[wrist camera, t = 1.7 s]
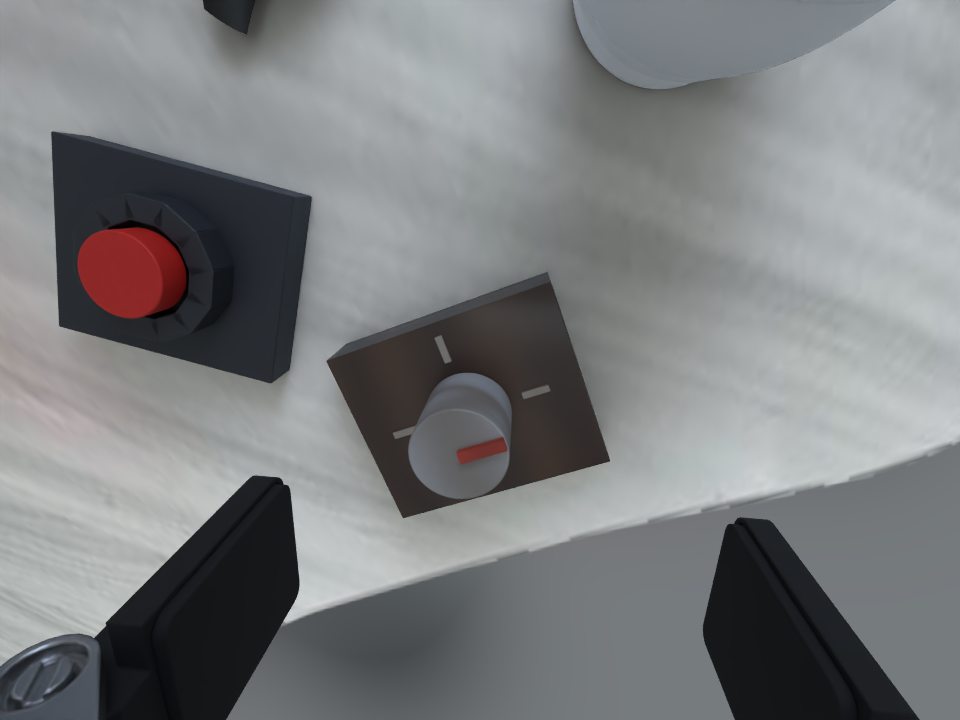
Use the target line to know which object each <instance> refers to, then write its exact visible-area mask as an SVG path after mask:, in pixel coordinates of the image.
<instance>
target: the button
mask: <svg viewBox="0 0 960 720" xmlns="http://www.w3.org/2000/svg"><path fill="white" fill-rule="evenodd" d="M78 272H79V276H80V279H81V282H82V284H83V287H84V288H85V290H86V292H87V293H88V295H89V296H90V297H91V298H92V299H93V301H94V302H95V303H96V304H98V305H99V306H100V307H101V308H102V309H104V310H105V311H107V312H109V313H111V314H113V315H116V316H119V317H123V318H130V319H134V318H141V317H144V316H147V315H151V314H154V313H157V312H160V311H163V310H166V309H169V308H171V307H172V306H174V305H175V304H176V303H177V302H178V301H179V300H180V299H181V297H182V296H183V294H184V291H185V288H186V282H187V275H186V269H185V265H184V262H183V260H182V258H181V256H180V254H179V253H178V251H177V250H176V248H175V247H174V246H173V245H172V244H171V243H170V242H169V241H168V240H167V239H166V238H165V237H163V236H162V235H160V234H158V233H156V232H154V231H152V230H149V229H145V228H138V227H135V228H123V229H111V230H103V231H99V232H97V233H94V234H93V235H91V236H90V237H89V238H88V239H86V240H85V242H84V243H83V244H82V246H81V248H80V251H79V254H78Z"/></svg>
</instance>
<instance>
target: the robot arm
mask: <svg viewBox="0 0 960 720" xmlns="http://www.w3.org/2000/svg"><path fill="white" fill-rule="evenodd" d="M298 591H299V572H298V562H297V552H296V542H295V532H294V523H293V513H292V503H291V493H290V488H289V486H288V485H283V481H282V479H280V478H278V477H266V476H252V477H251V478H249V479H248V480H247V481H246V482H245V483H244V484H243V485H242V486H241V487H240V488H239V489H238V490H237V491H236V492H235V493H234V494H233V495H232V496H231V497H230V498H229V499H228V500H227V501H226V502H225V503H224V504H223V505H222V506H221V507H220V508H219V509H218V510H217V511H216V512H215V514H214V515H213V516H212V517H211V518H210V519H209V520H208V521H207V522H206V523H205V524H204V525H203V526H202V527H201V528H200V529H199V530H198V531H197V532H196V533H195V534H194V535H193V536H192V537H191V538H190V539H189V540H188V541H187V542H186V543H185V544H184V545H183V546H182V547H181V548H180V549H179V550H178V551H177V552H176V553H175V554H174V555H173V556H172V557H171V558H170V559H169V560H168V561H167V562H166V563H165V564H164V565H163V566H162V567H161V568H160V569H159V570H158V571H157V572H156V573H155V574H154V575H153V576H152V577H151V578H150V579H149V580H148V581H147V582H146V583H145V584H144V585H143V586H142V587H141V588H140V589H139V590H138V591H137V592H136V593H135V594H134V595H133V596H132V597H131V598H130V599H129V600H128V601H127V602H126V603H125V604H124V605H123V606H122V607H121V608H120V609H119V610H118V611H117V612H116V613H115V614H114V615H113V616H112V617H111V618H110V619H109V620H108V621H107V622H106V627H105V628H104V629H103V630H102V631H101V632H100V633H99V634H98V635H97V636H96V637H95V638H93V637H91V636H88V635H83V634H68V635H61V636H58V637H54V638H50V639H47V640H44V641H42V642H40V643H38V644H35V645H33V646H31V647H28V648H27V649H25V650H23V651H22V652H20V653H19V654H17V655H15V656H14V657H12V658H10V659H9V660H8V661H7V662H5V663H4V664H3V665H2V666H0V720H226V719H227V717H228V715H229V714H230V712H231V710H232V709H233V707H234V705H235V703H236V702H237V700H238V698H239V697H240V695H241V693H242V691H243V690H244V688H245V686H246V684H247V683H248V681H249V679H250V678H251V676H252V674H253V672H254V670H255V669H256V667H257V665H258V664H259V662H260V660H261V659H262V657H263V655H264V653H265V652H266V650H267V648H268V647H269V645H270V643H271V641H272V640H273V638H274V636H275V634H276V633H277V631H278V629H279V628H280V626H281V624H282V623H283V621H284V619H285V617H286V616H287V614H288V612H289V610H290V609H291V607H292V605H293V604H294V602H295V600H296V598H297V595H298ZM703 636H704V641H705V645H706V647H707V650H708V652H709V655H710V658H711V660H712V662H713V665H714V668H715V670H716V673H717V675H718V678H719V680H720V683H721V685H722V688H723V690H724V693H725V696H726V698H727V701H728V703H729V706H730V708H731V711H732V713H733V716H734V718H735V720H919V718H918V717H917V716H916V714H915V713H914V712H913V710H912V709H911V708H910V706H909V705H908V704H907V702H906V701H905V699H904V698H903V697H902V696H901V694H900V693H899V691H898V690H897V689H896V687H895V686H894V685H893V683H892V682H891V681H890V679H889V678H888V677H887V675H886V674H885V673H884V671H883V670H882V669H881V667H880V666H879V665H878V663H877V662H876V661H875V659H874V658H873V657H872V655H871V654H870V653H869V651H868V650H867V649H866V647H865V646H864V644H863V643H862V642H861V641H860V639H859V638H858V636H857V635H856V634H855V632H854V631H853V630H852V629H851V627H850V626H849V624H848V623H847V622H846V620H845V619H844V618H843V616H842V615H841V614H840V612H839V611H838V610H837V608H836V607H835V606H834V605H833V603H832V602H831V600H830V599H829V598H828V596H827V595H826V594H825V592H824V591H823V590H822V588H821V587H820V586H819V584H818V583H817V582H816V580H815V579H814V577H813V576H812V575H811V573H810V572H809V571H808V569H807V568H806V567H805V565H804V564H803V563H802V561H801V560H800V559H799V557H798V556H797V555H796V553H795V552H794V551H793V549H792V548H791V547H790V545H789V544H788V543H787V541H786V540H785V539H784V537H783V536H782V535H781V533H780V532H779V531H778V529H777V528H776V527H775V525H774V524H773V523H772V522H771V521H769V520H764V519H753V518H741V517H740V518H738V519H737V520H736V521H735V523H734V524H728V525H727V527H726V530H725V533H724V538H723V542H722V546H721V551H720V555H719V559H718V564H717V568H716V572H715V577H714V580H713V585H712V589H711V593H710V598H709V602H708V606H707V611H706V615H705V620H704V624H703Z"/></svg>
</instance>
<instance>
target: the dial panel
mask: <svg viewBox="0 0 960 720" xmlns="http://www.w3.org/2000/svg"><path fill="white" fill-rule="evenodd" d="M327 363H328V365H329V367H330V370H331V372H332V374H333V376H334V378H335V380H336V382H337V384H338V386H339V388H340V390H341V392H342V394H343V396H344V398H345V400H346V402H347V404H348V406H349V408H350V410H351V413H352V415H353V417H354V419H355V421H356V423H357V425H358V427H359V429H360V431H361V433H362V435H363V437H364V439H365V441H366V443H367V445H368V447H369V449H370V451H371V453H372V456H373V458H374V460H375V462H376V464H377V466H378V468H379V470H380V472H381V474H382V476H383V478H384V480H385V482H386V484H387V486H388V488H389V490H390V492H391V494H392V496H393V499H394V501H395V503H396V505H397V507H398V509H399V511H400V513H401V515H402V517H403V518H406V517H409V516H413V515H417V514H420V513H424V512H427V511H431V510H435V509H438V508H442V507H446V506H449V505H453V504H457V503H460V502H464V501H467V500H471V499H475V498H478V497H482V496H486V495H489V494H493V493H497V492H500V491H504V490H507V489H511V488H515V487H518V486H522V485H526V484H529V483H533V482H537V481H540V480H544V479H547V478H551V477H555V476H558V475H562V474H566V473H569V472H573V471H577V470H580V469H584V468H587V467H591V466H595V465H598V464H602V463H606V462H609V461H610V459H609V455H608V452H607V449H606V446H605V443H604V440H603V437H602V434H601V431H600V428H599V425H598V422H597V419H596V416H595V413H594V410H593V407H592V404H591V401H590V398H589V395H588V392H587V389H586V386H585V383H584V380H583V377H582V374H581V371H580V368H579V365H578V362H577V359H576V356H575V353H574V350H573V347H572V344H571V341H570V338H569V335H568V332H567V329H566V326H565V323H564V320H563V317H562V314H561V311H560V308H559V305H558V302H557V299H556V296H555V293H554V290H553V287H552V284H551V281H550V278H549V275H548V272H546V273H544V274H541V275H538V276H535V277H532V278H530V279H527V280H524V281H521V282H518V283H516V284H513V285H510V286H507V287H504V288H502V289H499V290H496V291H493V292H491V293H488V294H485V295H482V296H479V297H477V298H474V299H471V300H468V301H465V302H463V303H460V304H457V305H454V306H451V307H449V308H446V309H443V310H440V311H437V312H435V313H432V314H429V315H426V316H423V317H421V318H418V319H415V320H412V321H410V322H407V323H404V324H401V325H398V326H396V327H393V328H390V329H387V330H384V331H382V332H379V333H376V334H373V335H370V336H368V337H365V338H362V339H359V340H356V341H354V342H351V343H348V344H346V345H345V346H344V347H342V348H341V349H340V350H339V351H338V352H336V353H335V354H334V355H333V356H332V357H331V358H329V359H328V360H327ZM459 373H476V374H480V375H483V376H486V377H488V378H490V379H492V380H493V381H495V382H496V383H497V384H498V385H499V386H501V388H502V389H503V390H504V391H505V393H506V394H507V396H508V398H509V400H510V404H511V408H512V424H511V442H510V459H509V466H508V469H507V472H506V474H505V476H504V477H503V479H502V480H501V482H500V483H499V484H498V485H497V486H496V487H495V488H493V489H492V490H491V491H489V492H488V493H486V494H484V495H481V496H478V497H475V498H470V499H454V498H449V497H445V496H442V495H439V494H437V493H435V492H433V491H432V490H430V489H429V488H427V487H426V486H425V485H424V484H423V483H422V482H421V481H420V480H419V479H418V477H417V476H416V475H415V473H414V471H413V469H412V466H411V464H410V460H409V454H408V448H409V441H410V438H411V435H412V433H413V431H414V429H415V427H416V424H417V422H418V420H419V418H420V416H421V414H422V412H423V409H424V407H425V405H426V403H427V401H428V399H429V397H430V395H431V393H432V391H433V390H434V388H435V387H436V386H437V385H438V384H439V383H440V382H441V381H443V380H444V379H446V378H448V377H450V376H452V375H455V374H459Z"/></svg>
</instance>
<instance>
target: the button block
mask: <svg viewBox="0 0 960 720" xmlns="http://www.w3.org/2000/svg"><path fill="white" fill-rule="evenodd" d="M51 135H52V160H53V185H54V210H55V234H56V259H57V284H58V309H59V326H60V327H64V328H67V329H71V330H75V331H78V332H82V333H86V334H90V335H93V336H97V337H101V338H104V339H108V340H112V341H116V342H119V343H123V344H127V345H130V346H134V347H138V348H142V349H145V350H149V351H153V352H156V353H160V354H164V355H167V356H171V357H175V358H179V359H182V360H186V361H190V362H193V363H197V364H201V365H205V366H208V367H212V368H216V369H219V370H223V371H227V372H231V373H234V374H238V375H242V376H245V377H249V378H253V379H256V380H260V381H264V382H268V383H273V382H274V381H275V380H277V379H278V378H279V377H281V376H282V375H283V374H285V373H286V372H287V371H289V368H290V360H291V352H292V345H293V337H294V329H295V322H296V314H297V306H298V299H299V291H300V283H301V275H302V268H303V260H304V252H305V245H306V237H307V229H308V222H309V214H310V206H311V198H312V197H311V196H309V195H305V194H301V193H297V192H294V191H290V190H286V189H283V188H279V187H275V186H271V185H268V184H264V183H260V182H257V181H253V180H249V179H246V178H242V177H238V176H234V175H231V174H227V173H223V172H220V171H216V170H212V169H209V168H205V167H201V166H197V165H194V164H190V163H186V162H183V161H179V160H175V159H172V158H168V157H164V156H160V155H157V154H153V153H149V152H146V151H142V150H138V149H135V148H131V147H127V146H123V145H120V144H116V143H112V142H109V141H105V140H101V139H97V138H94V137H90V136H83V135H76V134H68V133H61V132H51ZM135 227H138V228H145V229H149V230H152V231H154V232H156V233H158V234H160V235H162V236H163V237H165V238H166V239H167V240H168V241H169V242H170V243H171V244H172V245H173V246H174V247H175V248H176V250H177V251H178V253H179V254H180V256H181V258H182V260H183V262H184V265H185V269H186V275H187V282H186V288H185V291H184V294H183V296H182V297H181V299H180V300H179V301H178V302H177V303H176V304H175V305H174V306H172V307H171V308H169V309H166V310H163V311H160V312H157V313H154V314H151V315H147V316H144V317H141V318H134V319H130V318H123V317H119V316H116V315H113V314H111V313H109V312H107V311H105V310H104V309H102V308H101V307H100V306H99V305H98V304H96V303H95V302H94V301H93V299H92V298H91V297H90V296H89V295H88V293H87V292H86V290H85V288H84V287H83V284H82V282H81V279H80V276H79V272H78V254H79V251H80V248H81V246H82V244H83V243H84V242H85V240H86V239H88V238H89V237H90V236H91V235H93V234H94V233H97V232H99V231H103V230H111V229H123V228H135Z"/></svg>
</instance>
